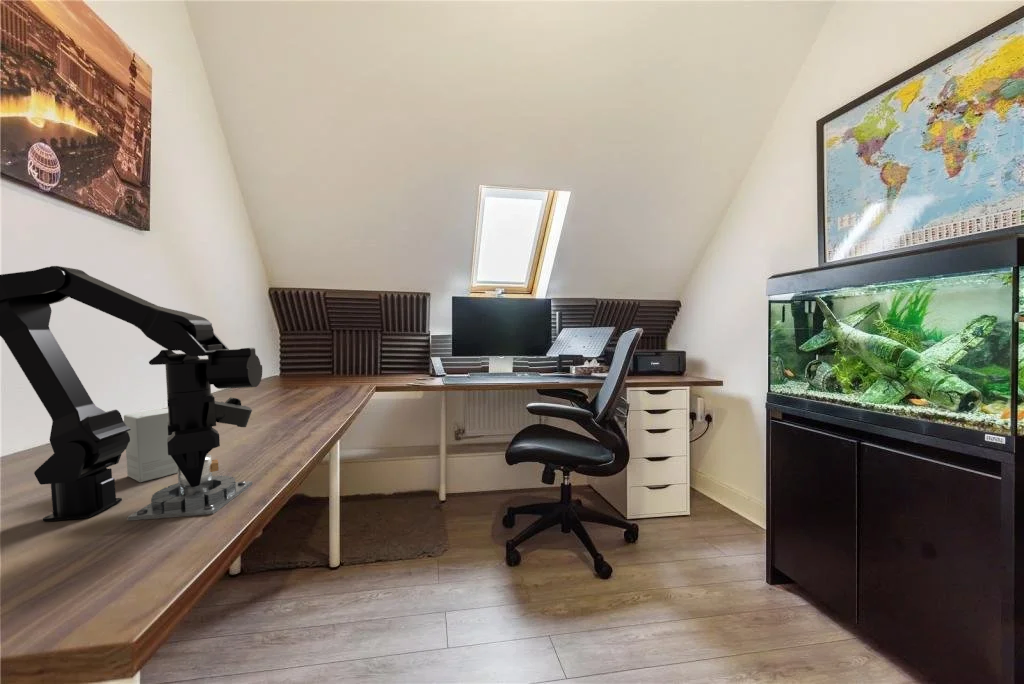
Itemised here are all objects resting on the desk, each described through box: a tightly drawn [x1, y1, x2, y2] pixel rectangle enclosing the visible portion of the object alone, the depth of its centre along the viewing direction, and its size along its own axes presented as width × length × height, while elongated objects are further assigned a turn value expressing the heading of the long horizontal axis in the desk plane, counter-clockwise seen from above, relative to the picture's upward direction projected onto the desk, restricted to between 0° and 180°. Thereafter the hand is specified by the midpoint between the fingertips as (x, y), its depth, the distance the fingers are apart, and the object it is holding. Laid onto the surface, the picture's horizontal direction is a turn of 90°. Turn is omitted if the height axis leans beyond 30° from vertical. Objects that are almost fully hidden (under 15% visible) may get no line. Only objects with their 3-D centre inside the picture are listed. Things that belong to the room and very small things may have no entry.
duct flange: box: [126, 475, 253, 521], centre depth 68 cm, size 12×12×2 cm
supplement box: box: [123, 407, 178, 483], centre depth 81 cm, size 7×7×13 cm
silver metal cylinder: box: [177, 453, 220, 497], centre depth 68 cm, size 5×4×6 cm
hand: (194, 481), depth 68 cm, fingers closed on silver metal cylinder, 5 cm apart
